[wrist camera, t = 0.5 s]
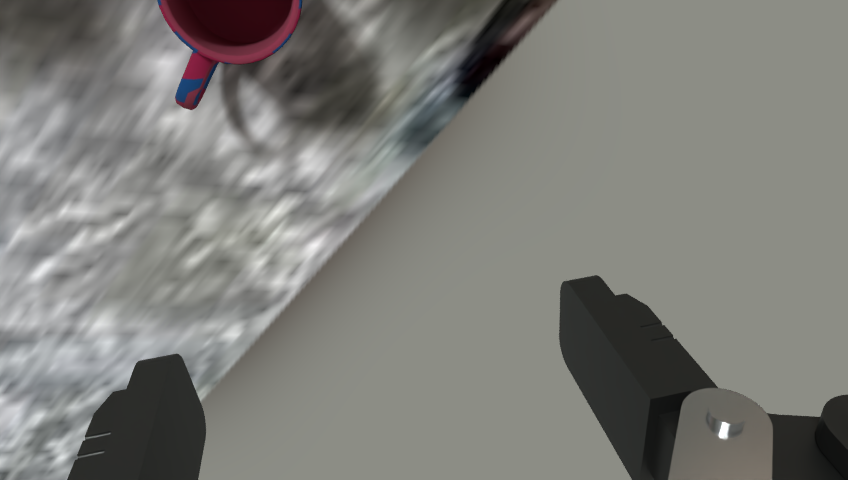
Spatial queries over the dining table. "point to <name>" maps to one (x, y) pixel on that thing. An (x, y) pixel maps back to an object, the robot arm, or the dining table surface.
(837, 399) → the robot arm
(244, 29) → the mug
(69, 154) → the dining table surface
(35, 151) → the dining table surface
